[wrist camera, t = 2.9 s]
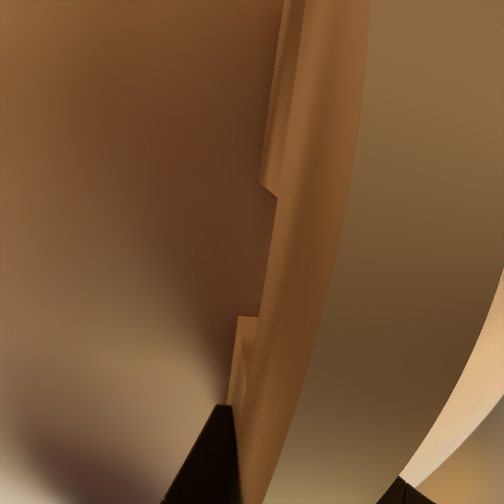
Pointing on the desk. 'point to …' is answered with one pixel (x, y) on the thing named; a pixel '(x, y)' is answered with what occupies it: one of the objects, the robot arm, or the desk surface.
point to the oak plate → (369, 242)
